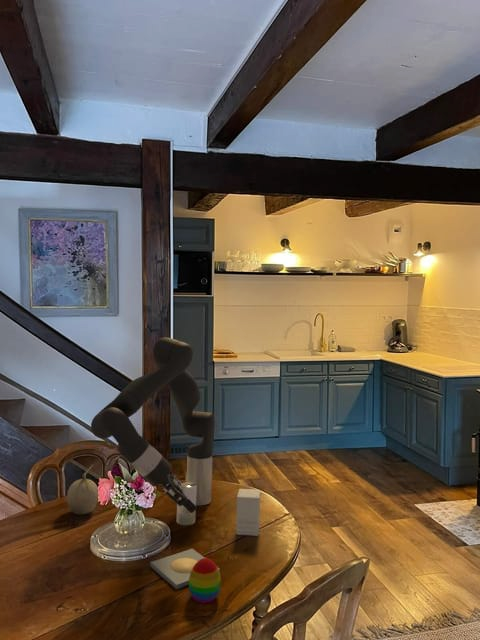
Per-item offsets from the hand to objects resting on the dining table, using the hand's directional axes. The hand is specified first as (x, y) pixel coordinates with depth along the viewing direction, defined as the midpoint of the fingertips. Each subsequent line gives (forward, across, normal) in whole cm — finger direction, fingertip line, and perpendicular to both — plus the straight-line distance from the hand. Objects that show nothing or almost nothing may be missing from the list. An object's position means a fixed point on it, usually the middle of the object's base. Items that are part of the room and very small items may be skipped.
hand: (193, 505), depth 149 cm
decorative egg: (+15, -14, +12) cm, 23 cm away
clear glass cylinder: (+2, 0, +4) cm, 5 cm away
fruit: (-10, +41, +36) cm, 56 cm away
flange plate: (+12, 0, +14) cm, 18 cm away
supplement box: (+28, +22, -2) cm, 35 cm away
